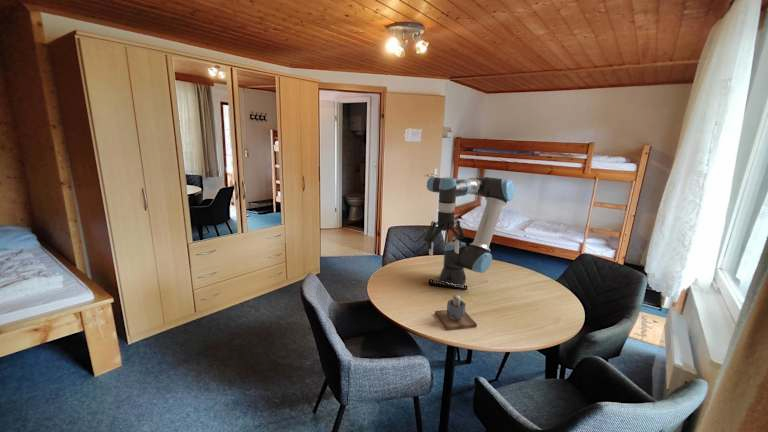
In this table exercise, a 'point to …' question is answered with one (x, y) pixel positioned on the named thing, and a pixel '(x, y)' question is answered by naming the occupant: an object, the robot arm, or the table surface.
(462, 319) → the shaft block
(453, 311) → the collar
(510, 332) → the table surface
